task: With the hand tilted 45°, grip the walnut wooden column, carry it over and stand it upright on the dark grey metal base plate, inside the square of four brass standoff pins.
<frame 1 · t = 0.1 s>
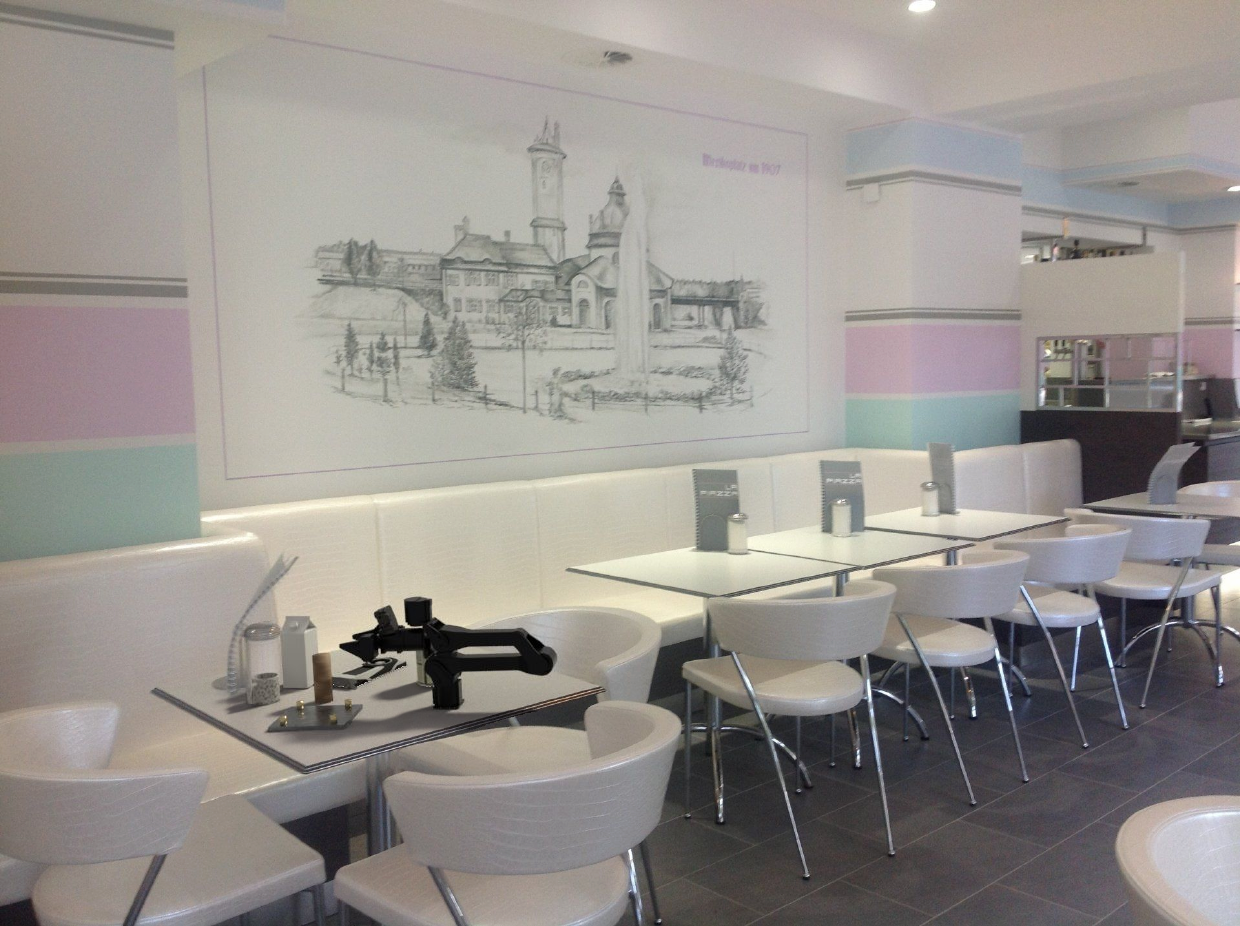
hand: (346, 641, 264), 17 cm above the table, tool horizontal, fingers open, 9 cm apart
base plate: (316, 719, 255), on the table
milk carton: (302, 685, 287), on the table
walnut column: (324, 701, 271), on the table
coffee can: (436, 682, 284), on the table
mug: (262, 703, 271), on the table
graphics card: (369, 678, 293), on the table
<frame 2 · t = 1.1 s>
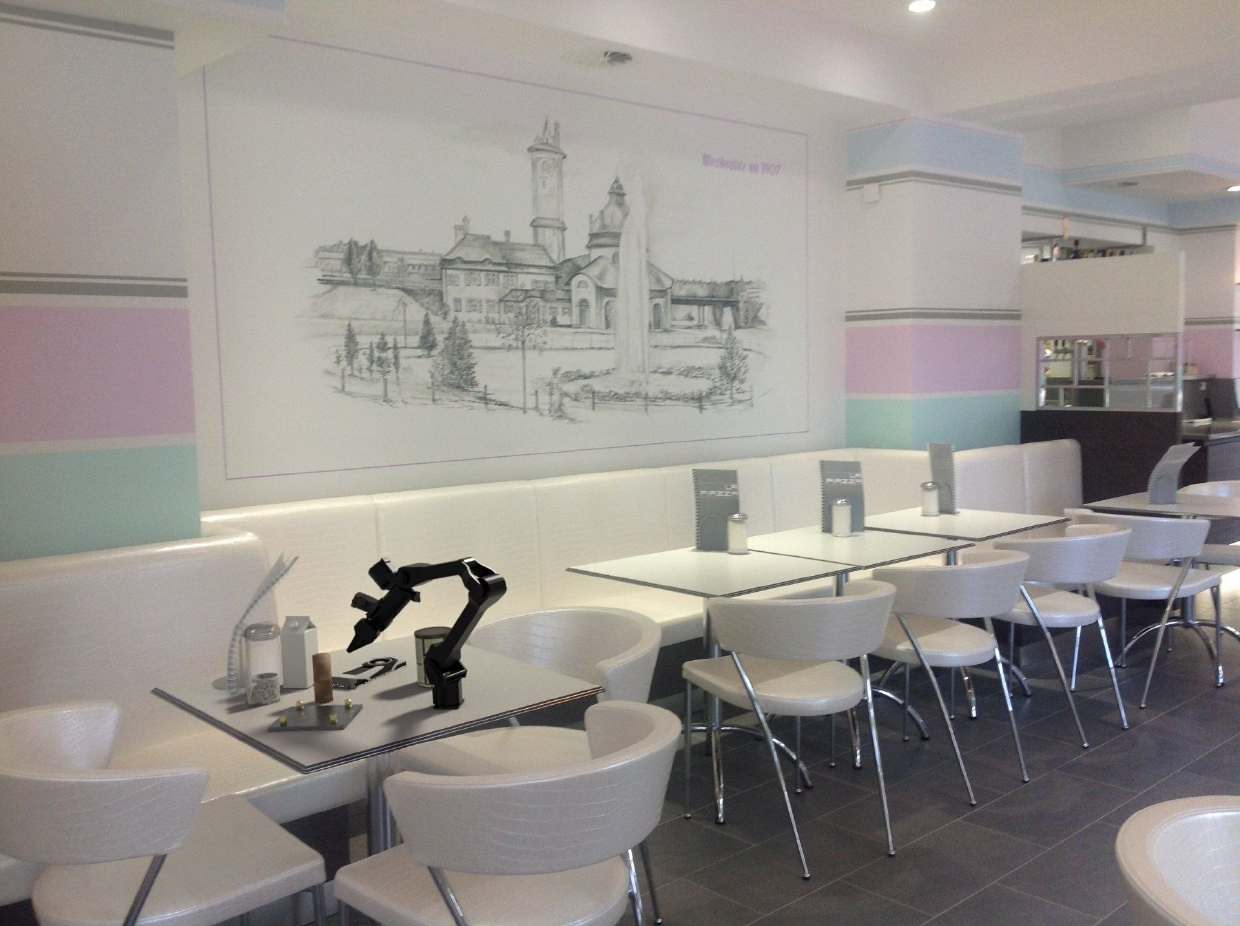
hand: (352, 647, 269), 14 cm above the table, tool tilted 45°, fingers open, 9 cm apart
nothing on the table moved.
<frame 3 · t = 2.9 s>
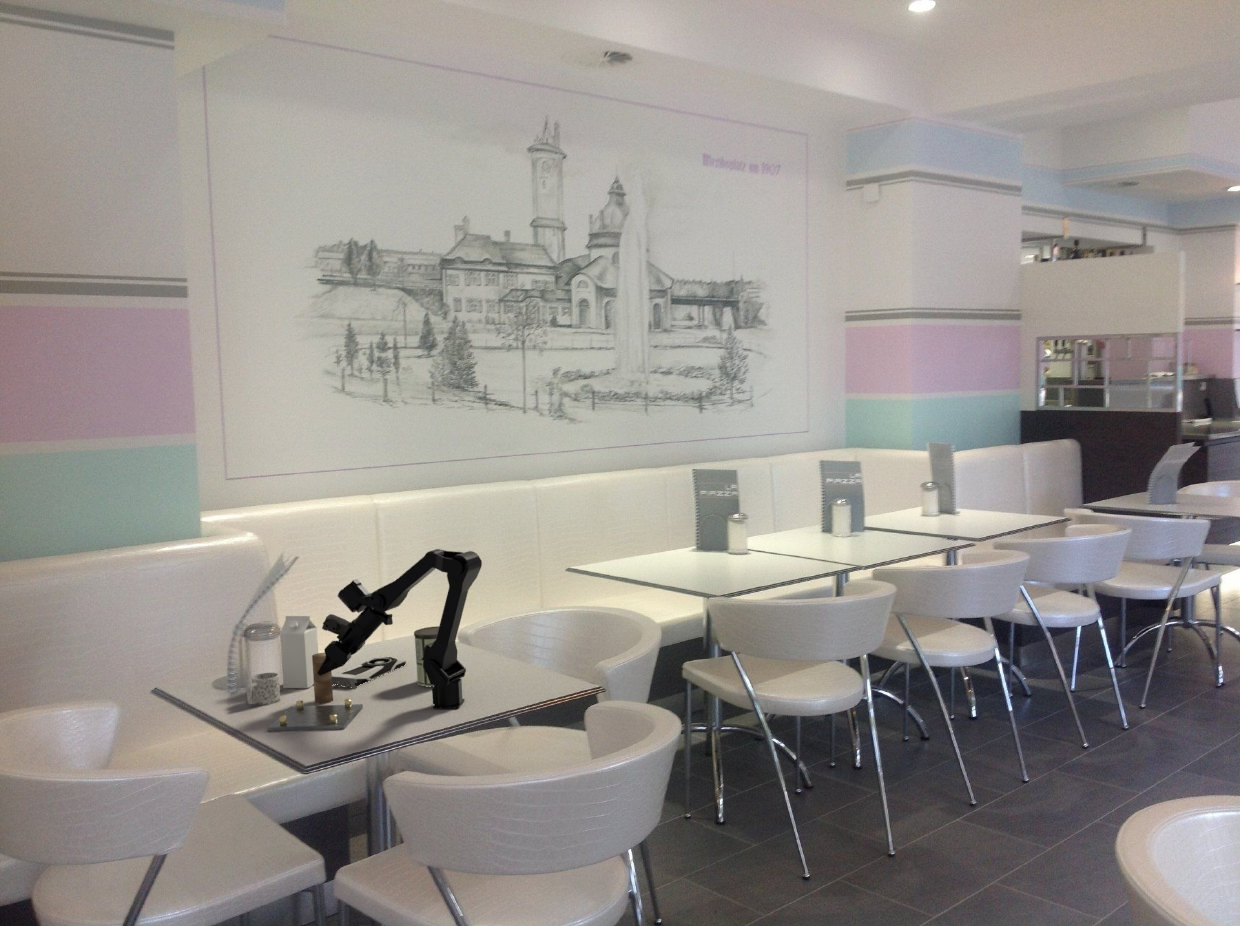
hand: (323, 669, 270), 8 cm above the table, tool tilted 45°, fingers open, 9 cm apart
nothing on the table moved.
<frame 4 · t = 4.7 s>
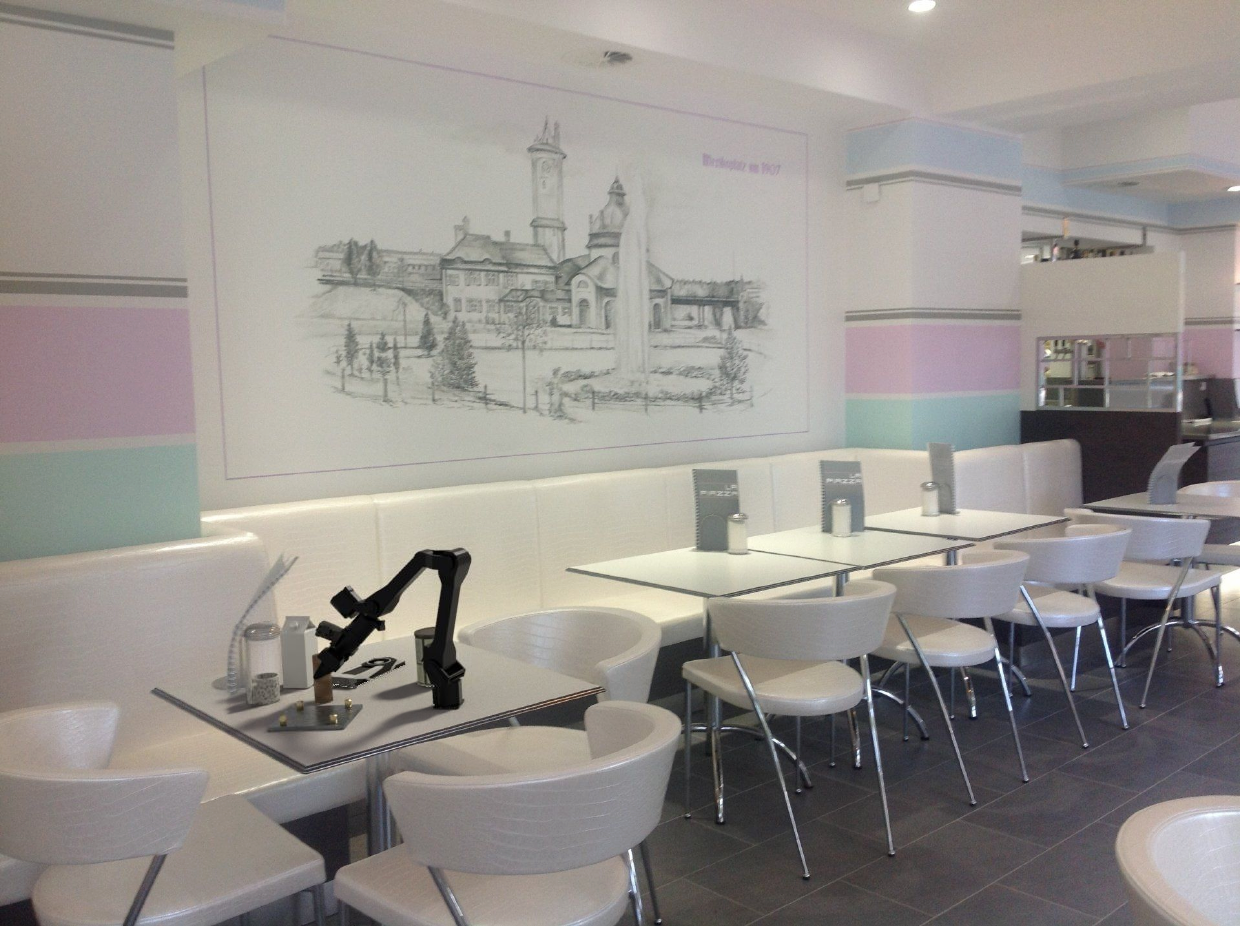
hand: (317, 675, 270), 7 cm above the table, tool tilted 45°, fingers closed on walnut column, 4 cm apart
walnut column: (324, 700, 271), on the table, touching gripper
everything else where it was.
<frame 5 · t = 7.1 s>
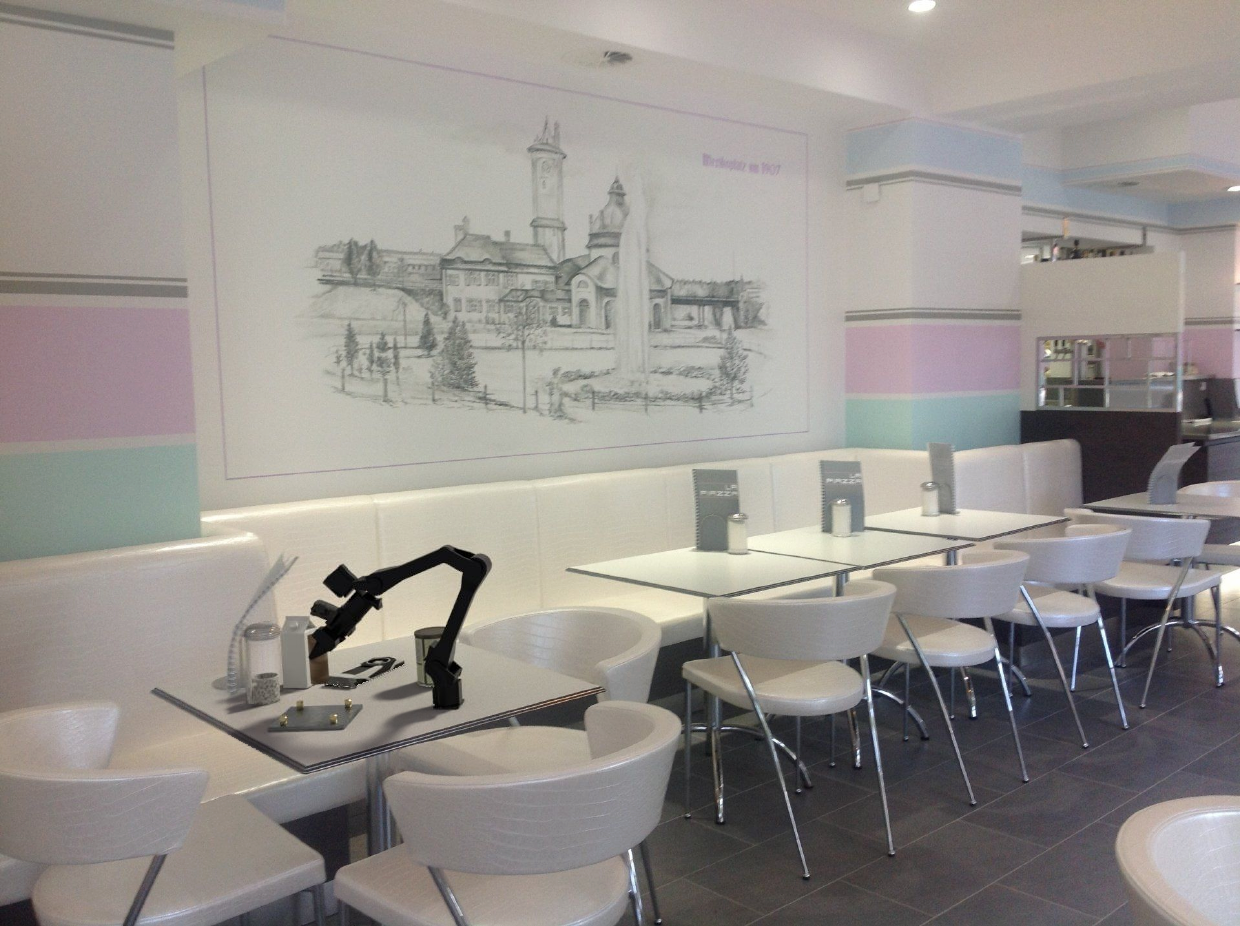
hand: (312, 656, 263), 13 cm above the table, tool tilted 45°, fingers closed on walnut column, 4 cm apart
walnut column: (320, 682, 264), point 7 cm above the table, touching gripper
everything else where it was.
when the fingers open (8 cm above the table, at t = 9.8 s): walnut column stays where it is, resting on base plate.
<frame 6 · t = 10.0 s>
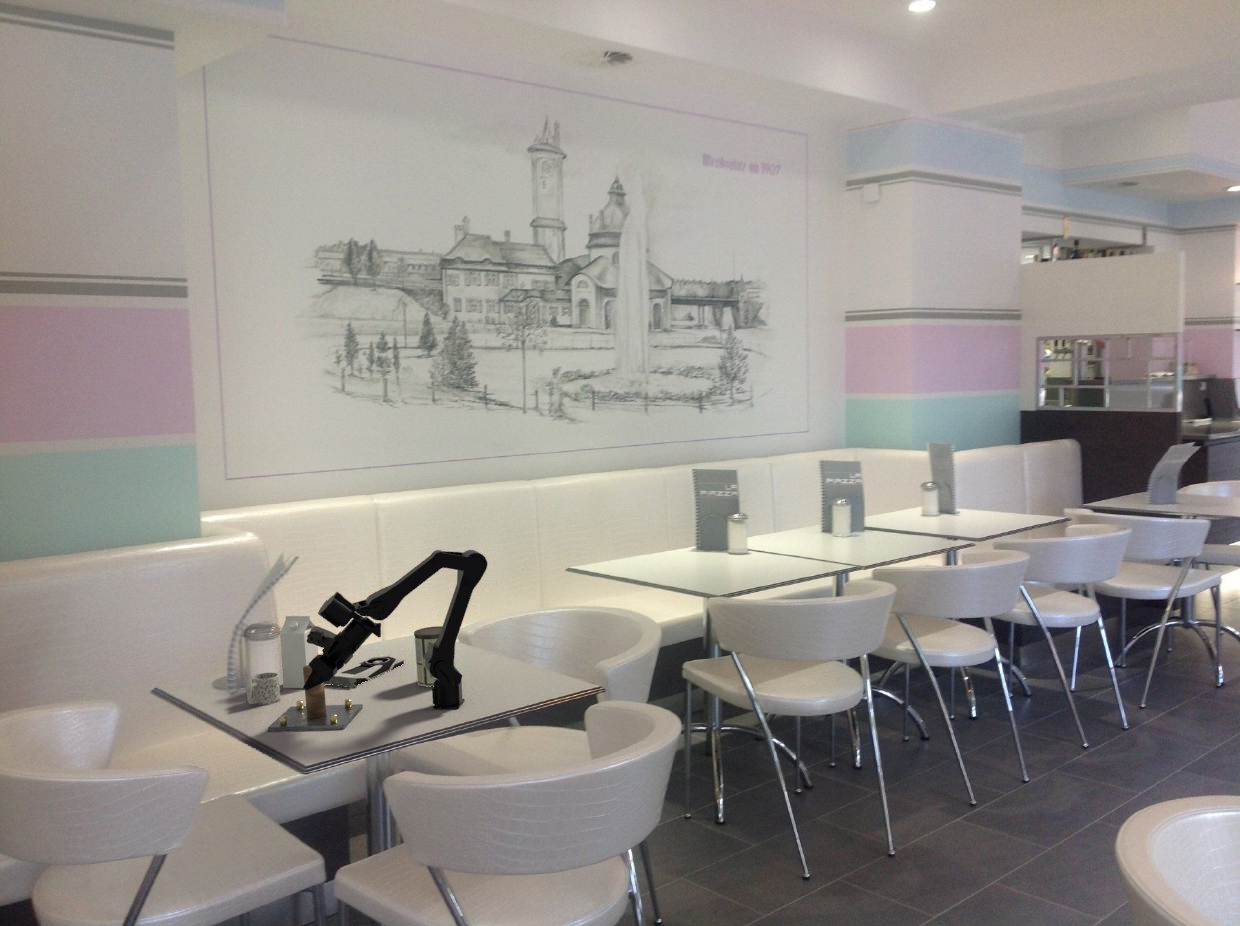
hand: (308, 684, 255), 9 cm above the table, tool tilted 45°, fingers open, 6 cm apart
walnut column: (316, 715, 255), point 1 cm above the table, touching base plate
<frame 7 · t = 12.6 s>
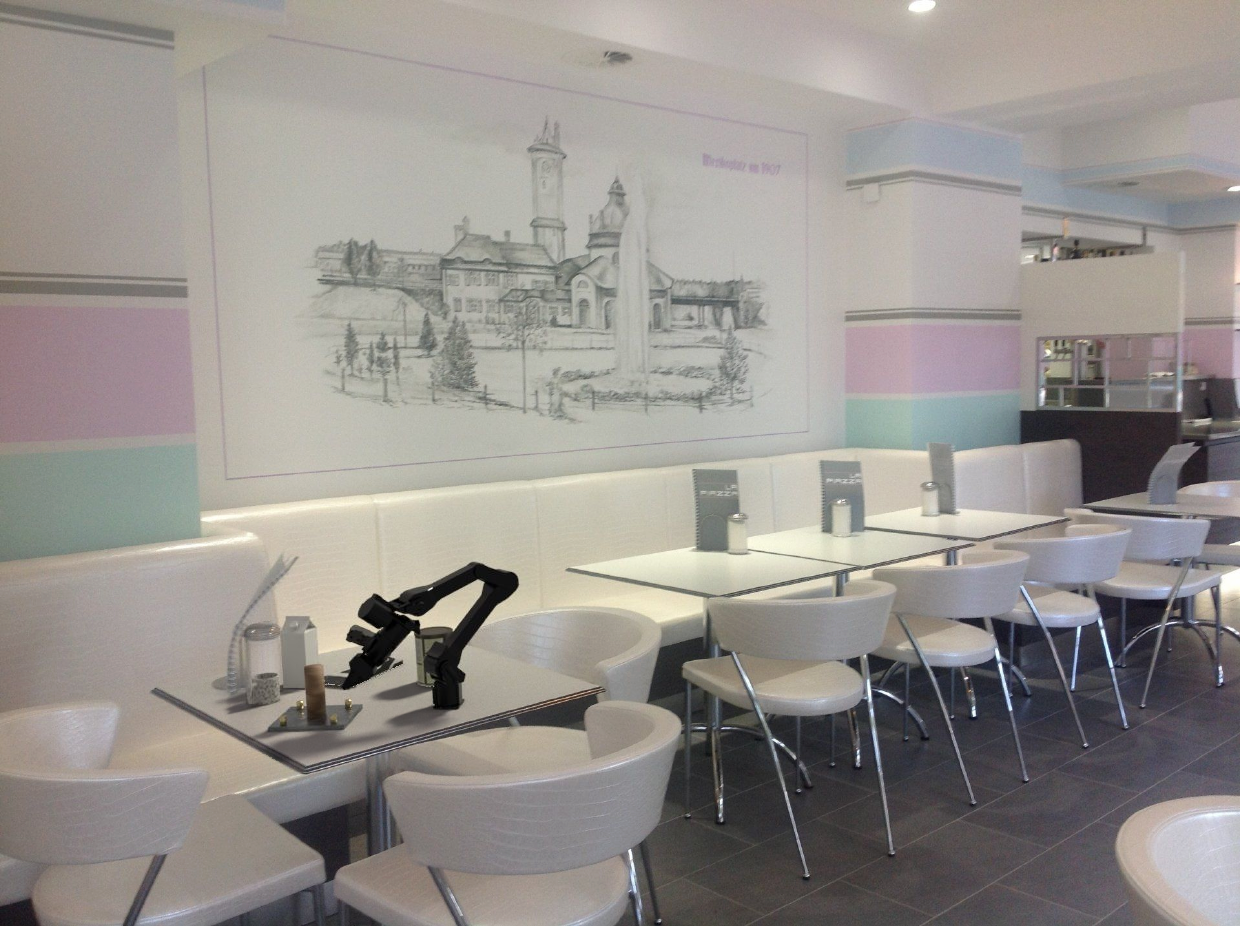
hand: (347, 683, 255), 9 cm above the table, tool tilted 45°, fingers open, 9 cm apart
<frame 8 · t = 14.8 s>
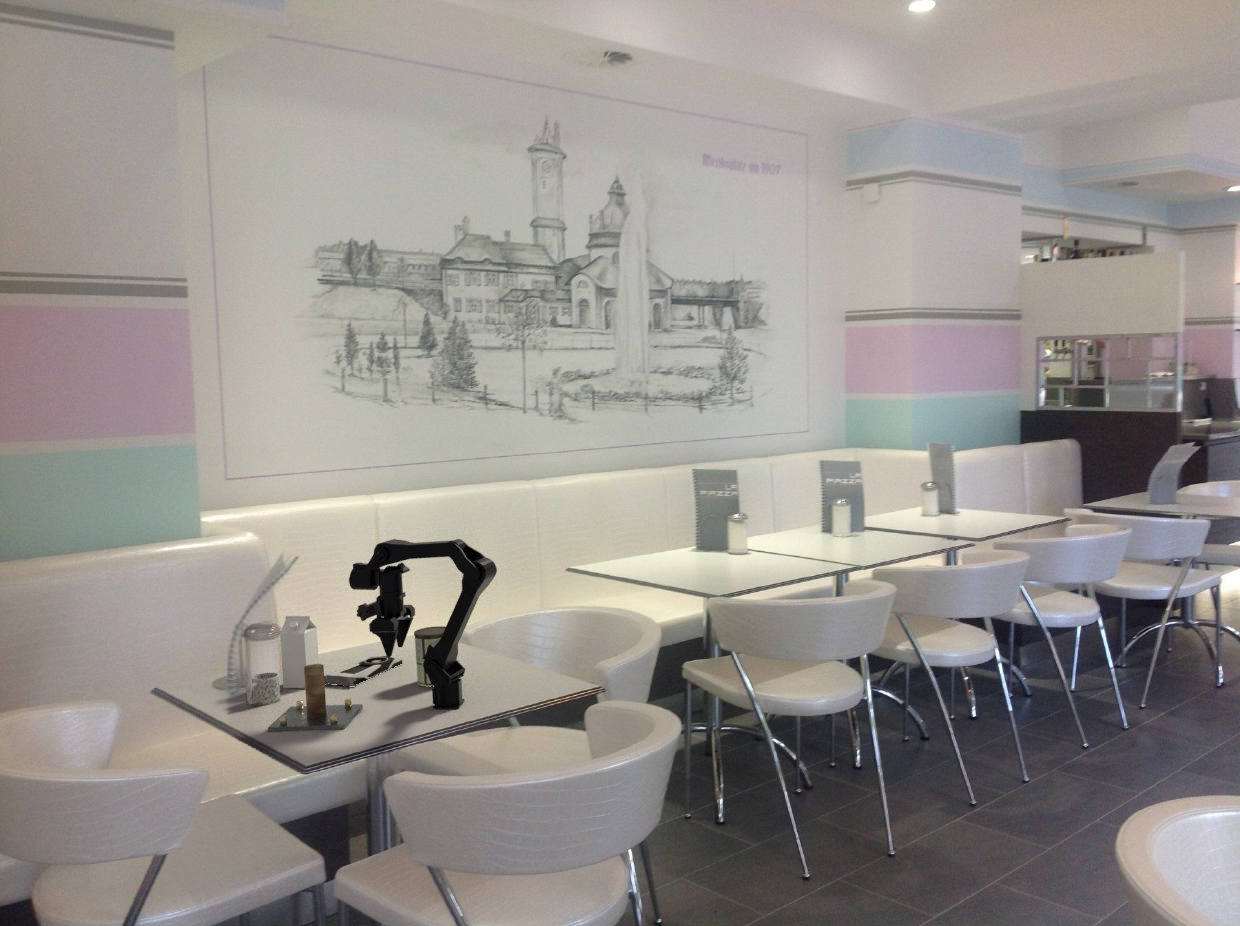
hand: (394, 651, 266), 13 cm above the table, tool pointing down, fingers open, 9 cm apart
at the end: walnut column 0.0 cm off-centre on the base plate, point 1.0 cm above the base plate's base; walnut column tilted 0°; the gripper is holding nothing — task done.
